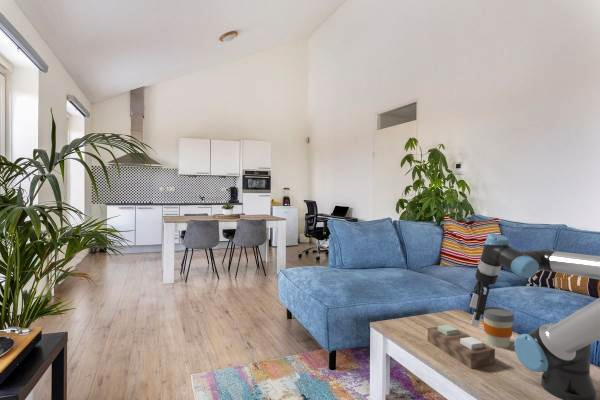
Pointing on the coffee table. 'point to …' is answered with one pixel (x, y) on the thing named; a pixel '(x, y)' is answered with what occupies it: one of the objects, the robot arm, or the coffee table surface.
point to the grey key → (471, 343)
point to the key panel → (461, 349)
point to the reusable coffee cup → (498, 326)
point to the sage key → (447, 330)
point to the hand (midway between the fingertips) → (473, 316)
